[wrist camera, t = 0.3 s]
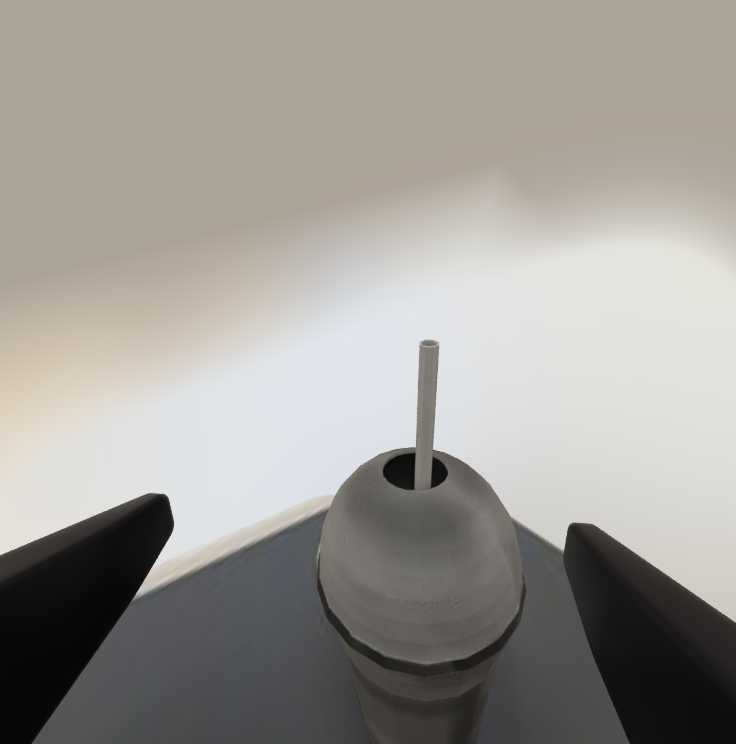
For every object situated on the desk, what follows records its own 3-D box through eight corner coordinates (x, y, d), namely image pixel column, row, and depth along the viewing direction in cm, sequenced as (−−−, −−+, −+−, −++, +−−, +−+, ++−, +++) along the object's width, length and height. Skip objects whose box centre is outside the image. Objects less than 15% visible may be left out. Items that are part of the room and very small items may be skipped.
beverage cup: (454, 636, 21) (465, 299, 14) (538, 818, 14) (643, 349, 7) (333, 677, 19) (276, 321, 12) (365, 902, 13) (280, 409, 6)
